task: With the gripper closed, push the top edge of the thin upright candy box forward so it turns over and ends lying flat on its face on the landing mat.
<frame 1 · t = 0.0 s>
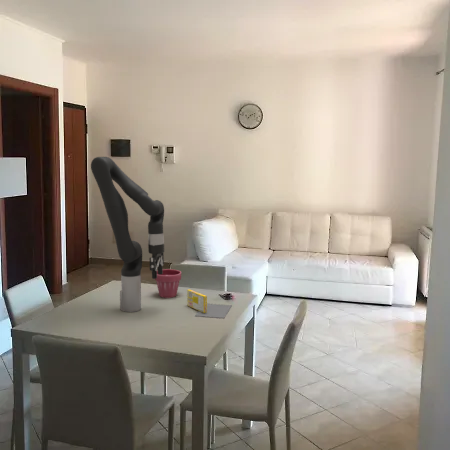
hand: (157, 276, 240), 17 cm above the table, tool pointing down, fingers open, 8 cm apart
candy box: (196, 309, 246), on the table, touching landing mat
plant pot: (168, 295, 270), on the table
landing mat: (213, 310, 245), on the table
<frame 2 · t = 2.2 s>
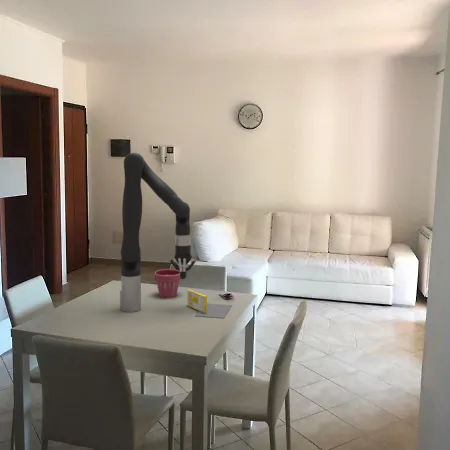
hand: (183, 278, 245), 15 cm above the table, tool pointing down, fingers closed
nothing on the table moved.
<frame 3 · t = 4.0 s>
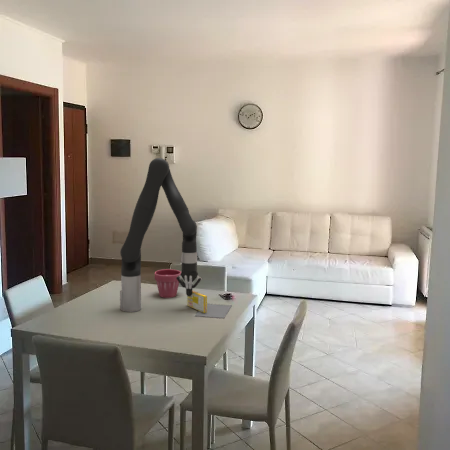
hand: (189, 295, 246), 7 cm above the table, tool pointing down, fingers closed
candy box: (196, 309, 246), on the table, touching gripper, landing mat
everything else where it was.
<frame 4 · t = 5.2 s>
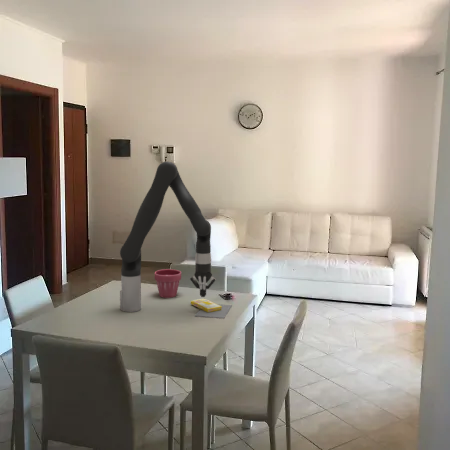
hand: (203, 296, 245), 7 cm above the table, tool pointing down, fingers closed
candy box: (198, 306, 246), point 1 cm above the table, touching landing mat
everything else where it was.
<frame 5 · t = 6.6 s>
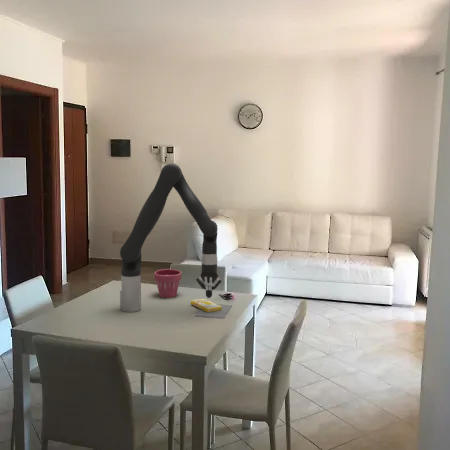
hand: (209, 297, 244), 7 cm above the table, tool pointing down, fingers closed
nothing on the table moved.
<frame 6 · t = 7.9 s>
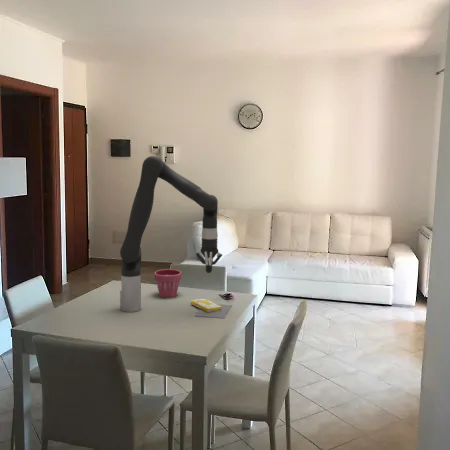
hand: (209, 272, 242), 19 cm above the table, tool pointing down, fingers closed
nothing on the table moved.
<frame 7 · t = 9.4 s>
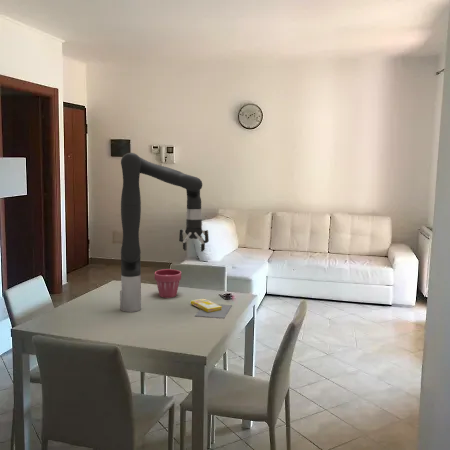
hand: (193, 250, 247), 28 cm above the table, tool pointing down, fingers open, 8 cm apart
nothing on the table moved.
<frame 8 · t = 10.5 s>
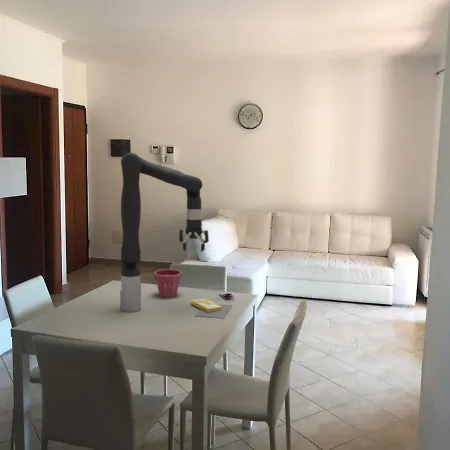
hand: (193, 250, 247), 28 cm above the table, tool pointing down, fingers open, 8 cm apart
nothing on the table moved.
at the end: candy box tilted 89°; candy box inside the target area (4.6 cm from its centre), point 1.3 cm above the table; candy box touching landing mat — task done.
